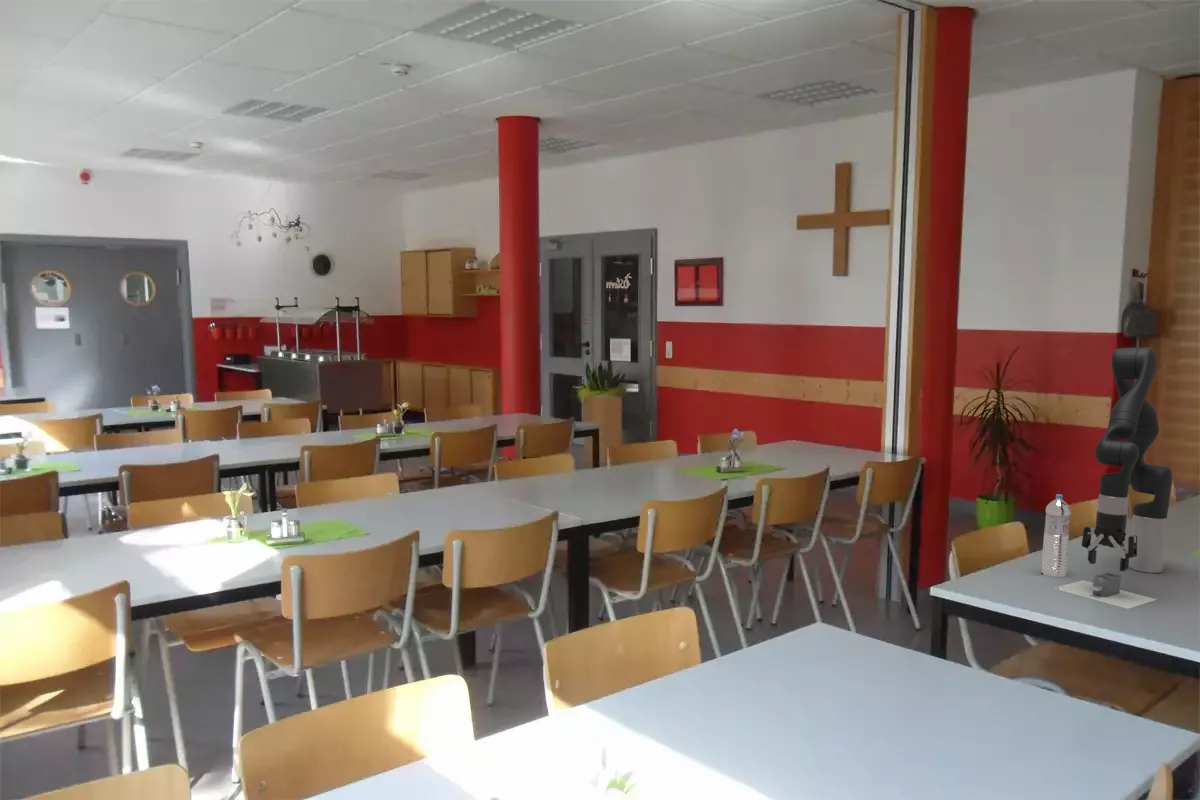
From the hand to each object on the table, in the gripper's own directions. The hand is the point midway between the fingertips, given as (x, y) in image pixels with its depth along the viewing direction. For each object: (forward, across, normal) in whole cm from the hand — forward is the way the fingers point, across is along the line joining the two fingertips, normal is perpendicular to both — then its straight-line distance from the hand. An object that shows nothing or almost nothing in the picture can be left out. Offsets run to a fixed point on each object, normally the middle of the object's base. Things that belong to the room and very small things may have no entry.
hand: (1107, 567), depth 261 cm
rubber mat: (+8, 0, +1) cm, 8 cm away
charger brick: (+8, 0, 0) cm, 8 cm away
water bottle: (+8, +19, -6) cm, 22 cm away
